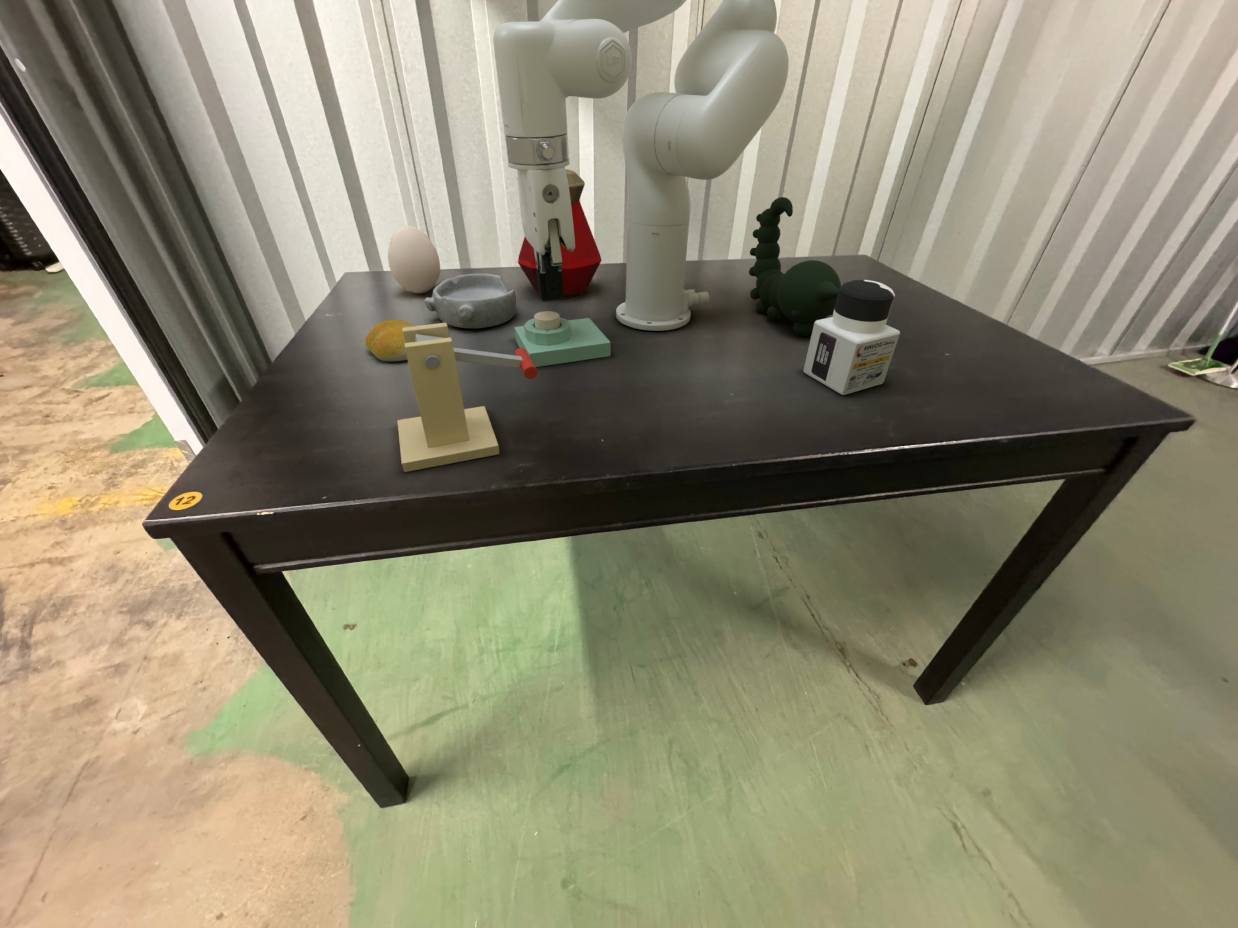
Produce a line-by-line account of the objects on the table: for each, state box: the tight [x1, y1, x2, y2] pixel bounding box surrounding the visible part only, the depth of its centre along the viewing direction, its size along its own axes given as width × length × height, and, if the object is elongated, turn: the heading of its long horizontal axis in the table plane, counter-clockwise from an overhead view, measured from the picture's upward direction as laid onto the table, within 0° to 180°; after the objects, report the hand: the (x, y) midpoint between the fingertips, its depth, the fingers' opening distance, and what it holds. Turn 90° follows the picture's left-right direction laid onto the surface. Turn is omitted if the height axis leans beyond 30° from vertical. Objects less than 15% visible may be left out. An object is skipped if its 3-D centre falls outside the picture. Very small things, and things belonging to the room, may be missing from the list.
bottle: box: [517, 168, 602, 299], centre depth 98 cm, size 16×14×20 cm
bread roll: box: [364, 319, 415, 362], centre depth 80 cm, size 8×9×4 cm
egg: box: [387, 225, 441, 294], centre depth 98 cm, size 9×9×12 cm
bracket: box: [397, 322, 500, 473], centre depth 58 cm, size 10×9×13 cm
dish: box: [424, 273, 517, 329], centre depth 91 cm, size 14×14×5 cm
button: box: [533, 310, 560, 330], centre depth 80 cm, size 4×4×2 cm
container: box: [802, 279, 901, 396], centre depth 72 cm, size 8×8×13 cm
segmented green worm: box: [748, 196, 842, 337], centre depth 88 cm, size 9×19×25 cm
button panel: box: [513, 316, 612, 368], centre depth 82 cm, size 12×10×4 cm
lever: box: [415, 334, 538, 380], centre depth 58 cm, size 12×5×2 cm, turn 110°
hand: (551, 298), depth 78 cm, fingers closed
